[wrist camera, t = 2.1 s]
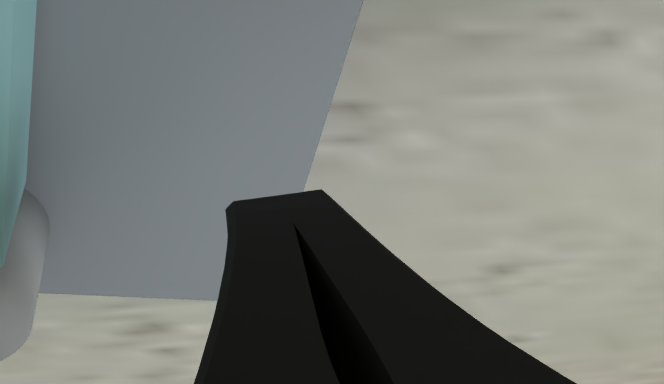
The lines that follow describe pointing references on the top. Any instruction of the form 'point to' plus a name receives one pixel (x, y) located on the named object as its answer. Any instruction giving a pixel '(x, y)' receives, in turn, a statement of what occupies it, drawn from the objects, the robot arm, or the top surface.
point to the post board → (171, 130)
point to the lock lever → (18, 180)
